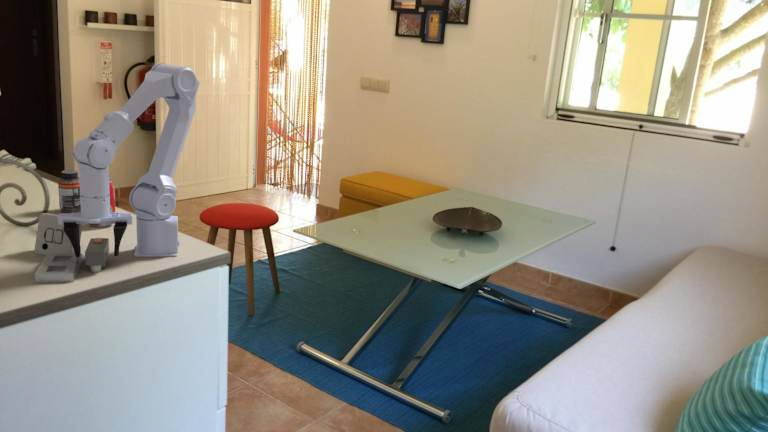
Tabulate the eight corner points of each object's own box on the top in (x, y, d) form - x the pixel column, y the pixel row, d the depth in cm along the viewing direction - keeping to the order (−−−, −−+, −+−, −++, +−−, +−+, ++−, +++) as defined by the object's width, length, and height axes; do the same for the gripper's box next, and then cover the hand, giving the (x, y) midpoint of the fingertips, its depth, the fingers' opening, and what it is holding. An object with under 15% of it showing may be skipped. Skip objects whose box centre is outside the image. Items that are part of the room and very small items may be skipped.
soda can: (118, 227, 164) (117, 182, 161) (89, 229, 161) (87, 184, 157) (112, 219, 170) (111, 176, 167) (84, 222, 166) (82, 178, 163)
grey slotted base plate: (82, 262, 139) (82, 253, 139) (73, 282, 128) (73, 273, 128) (47, 262, 137) (46, 254, 137) (35, 283, 126) (34, 274, 126)
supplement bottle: (68, 207, 178) (66, 168, 175) (88, 209, 177) (86, 170, 174) (55, 212, 172) (52, 172, 169) (75, 215, 171) (73, 174, 168)
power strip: (109, 258, 142) (108, 236, 141) (104, 272, 134) (103, 250, 133) (91, 258, 141) (91, 236, 140) (85, 273, 133) (84, 250, 132)
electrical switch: (33, 254, 141) (33, 214, 140) (49, 249, 146) (50, 210, 145) (70, 260, 140) (71, 220, 138) (85, 255, 145) (86, 216, 143)
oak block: (105, 263, 140) (105, 255, 139) (104, 268, 137) (103, 260, 136) (92, 264, 139) (91, 255, 138) (90, 269, 136) (89, 260, 135)
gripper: (53, 199, 128) (57, 262, 131) (130, 200, 132) (131, 260, 136) (59, 190, 134) (63, 251, 138) (132, 191, 138) (134, 250, 142)
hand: (97, 255), depth 137 cm, fingers open, 7 cm apart
